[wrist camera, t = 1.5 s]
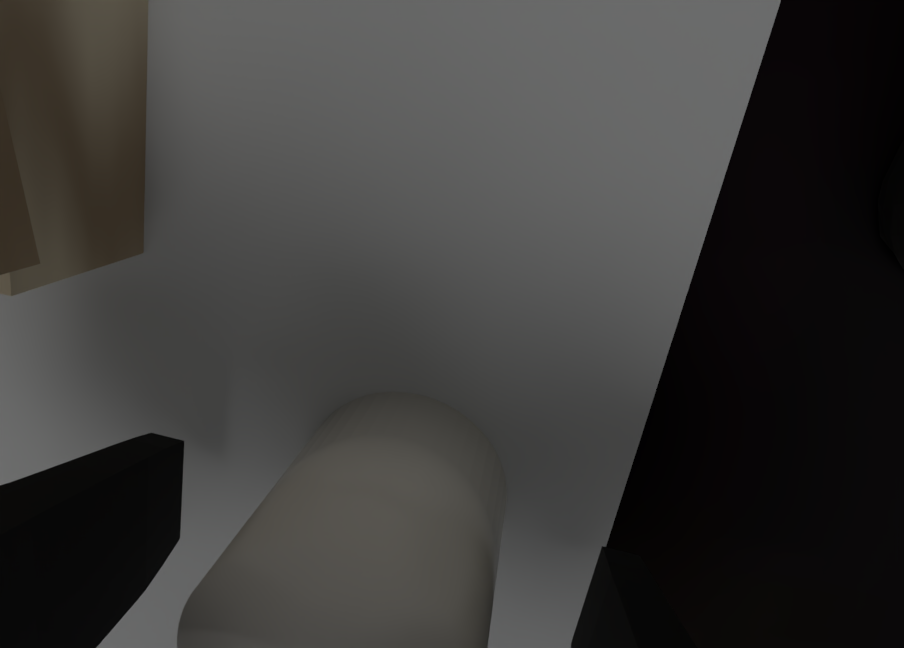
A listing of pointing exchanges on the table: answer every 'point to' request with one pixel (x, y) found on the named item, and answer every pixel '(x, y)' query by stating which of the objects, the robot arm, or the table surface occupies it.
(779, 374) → the table surface
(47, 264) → the slab bottom
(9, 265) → the slab top
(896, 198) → the camera
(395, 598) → the cylinder
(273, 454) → the mat
